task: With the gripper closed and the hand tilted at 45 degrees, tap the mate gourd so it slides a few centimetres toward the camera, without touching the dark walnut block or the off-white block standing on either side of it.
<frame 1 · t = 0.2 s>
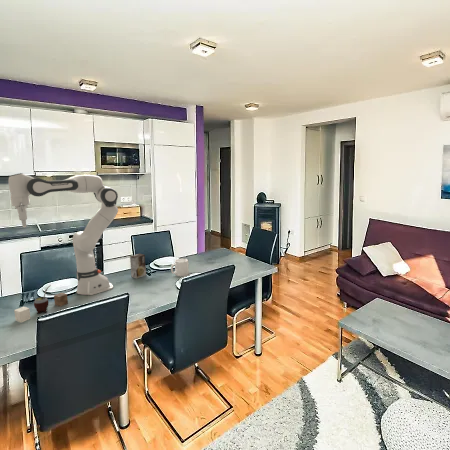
hand: (24, 226, 183), 47 cm above the table, tool pointing down, fingers open, 8 cm apart
off-white block: (23, 319, 170), on the table
mate gourd: (43, 311, 180), on the table
walnut block: (61, 304, 189), on the table
mug: (180, 274, 240), on the table
coffee box: (138, 276, 236), on the table
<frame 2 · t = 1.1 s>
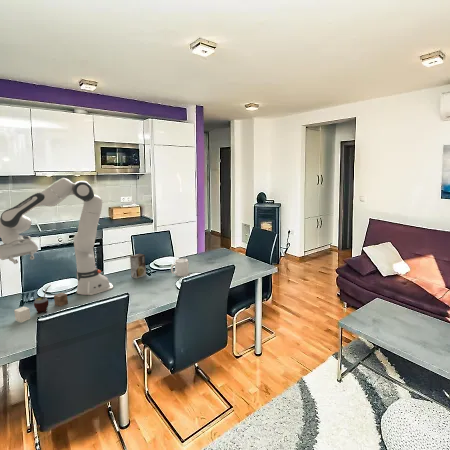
hand: (24, 261, 181), 28 cm above the table, tool tilted 45°, fingers open, 8 cm apart
nothing on the table moved.
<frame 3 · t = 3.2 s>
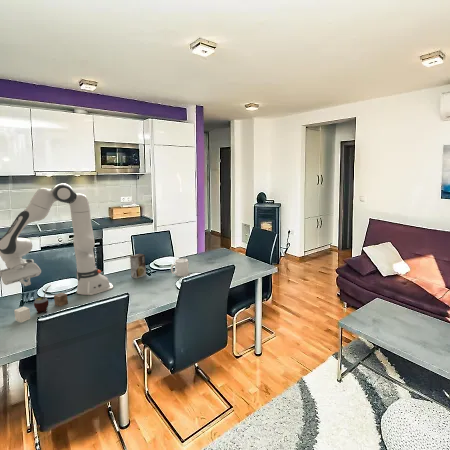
hand: (28, 285, 183), 14 cm above the table, tool tilted 45°, fingers closed
nothing on the table moved.
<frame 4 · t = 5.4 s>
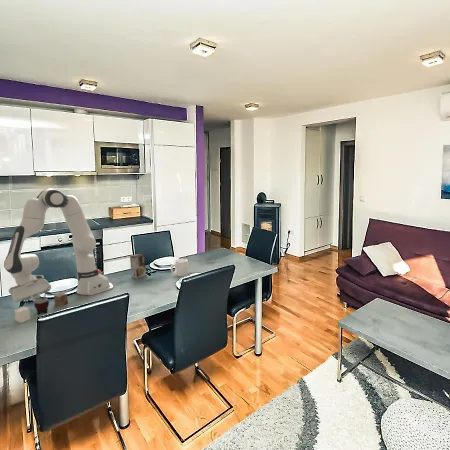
hand: (38, 302, 181), 5 cm above the table, tool tilted 45°, fingers closed
mate gourd: (43, 311, 179), on the table, touching gripper
everything else where it was.
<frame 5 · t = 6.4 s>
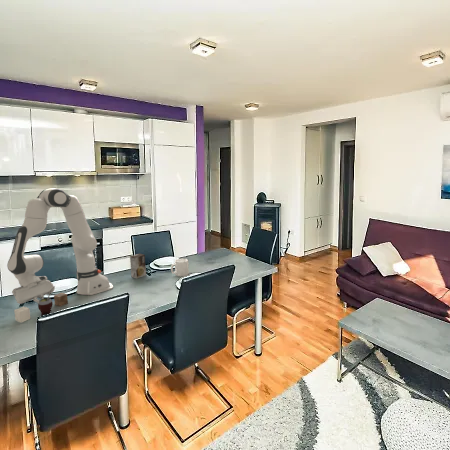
hand: (41, 303, 179), 5 cm above the table, tool tilted 45°, fingers closed
mate gourd: (47, 313, 178), on the table, touching gripper
everything else where it was.
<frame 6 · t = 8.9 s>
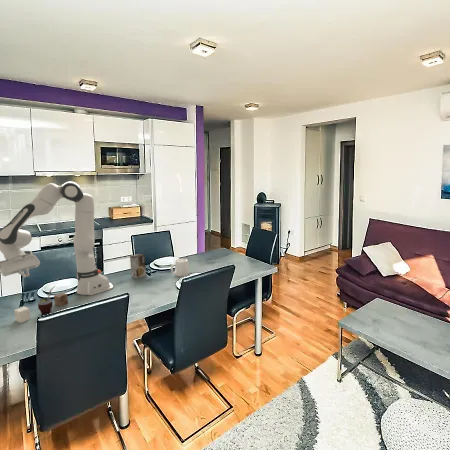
hand: (27, 276, 182), 19 cm above the table, tool tilted 45°, fingers closed
mate gourd: (47, 313, 178), on the table
everything else where it was.
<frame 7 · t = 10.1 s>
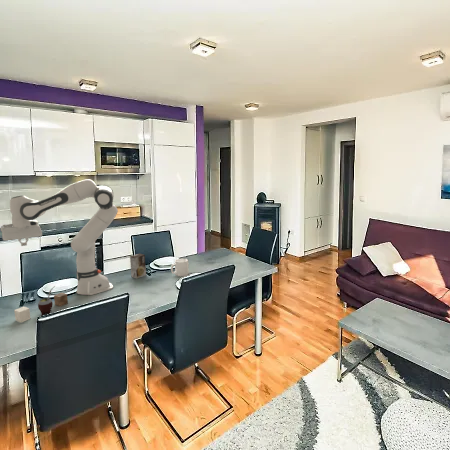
hand: (24, 245, 191), 34 cm above the table, tool pointing down, fingers closed
nothing on the table moved.
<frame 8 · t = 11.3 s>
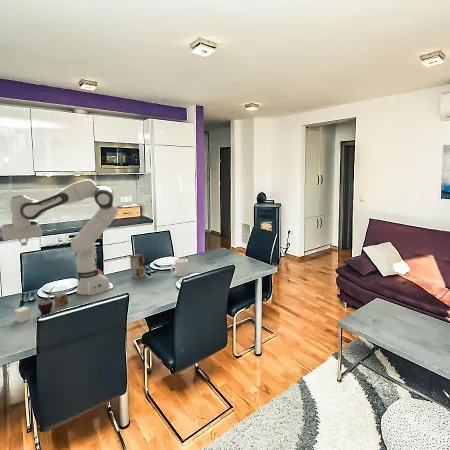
hand: (24, 245, 191), 34 cm above the table, tool pointing down, fingers closed
nothing on the table moved.
at the end: mate gourd moved 4.0 cm from its start; walnut block moved 0.1 cm from its start; off-white block moved 0.1 cm from its start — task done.
